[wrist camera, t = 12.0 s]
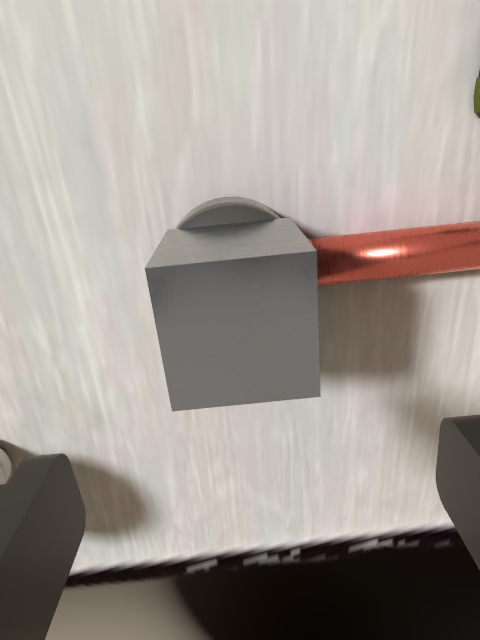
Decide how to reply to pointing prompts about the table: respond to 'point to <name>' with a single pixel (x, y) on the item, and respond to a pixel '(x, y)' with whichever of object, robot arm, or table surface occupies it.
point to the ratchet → (363, 245)
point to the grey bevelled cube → (236, 313)
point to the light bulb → (4, 467)
